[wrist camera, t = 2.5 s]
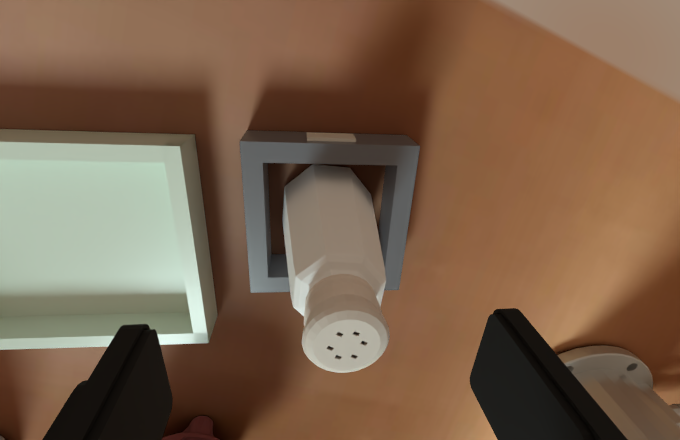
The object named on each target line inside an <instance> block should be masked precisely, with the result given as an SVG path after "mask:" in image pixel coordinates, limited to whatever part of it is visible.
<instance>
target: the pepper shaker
mask: <svg viewBox="0 0 680 440" xmlns="http://www.w3.org/2000/svg"><path fill="white" fill-rule="evenodd" d="M282 222H283V231H284V240H285V249H286V258H287V267H288V276H289V285H290V294H291V299H292V304H293V307H294V308H295V309H296V310H297V311H298V312H299V313H300V314H302V315H303V316H304V329H303V336H302V346H303V350H304V352H305V354H306V355H307V357H308V359H309V360H311V361H312V362H313V363H314V364H315V365H317V366H318V367H320V368H323V369H325V370H327V371H332V372H339V373H347V372H353V371H358V370H360V369H363V368H366V367H367V366H369V365H371V364H372V363H374V362H375V361H376V360H377V359H378V358H379V357H380V356H381V355H382V354H383V352H384V350H385V349H386V347H387V345H388V341H389V337H390V335H389V327H388V325H387V323H386V320H385V318H384V316H383V315H382V311H381V309H380V306H381V302H382V297H383V293H384V288H385V284H386V275H385V267H384V261H383V256H382V251H381V245H380V240H379V235H378V229H377V224H376V219H375V213H374V208H373V203H372V197H371V194H370V192H369V191H368V190H367V189H366V187H365V186H364V185H363V184H362V182H361V181H360V180H359V179H358V177H357V176H356V175H355V174H354V172H353V171H352V170H351V169H350V168H348V167H338V166H327V165H317V164H312V165H311V166H310V167H309V168H307V169H306V170H305V171H304V172H302V173H301V174H300V175H298V176H297V177H296V178H295V179H293V180H292V181H291V182H290V183H288V184H287V185H286V186H285V187H284V201H283V216H282Z"/></svg>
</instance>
